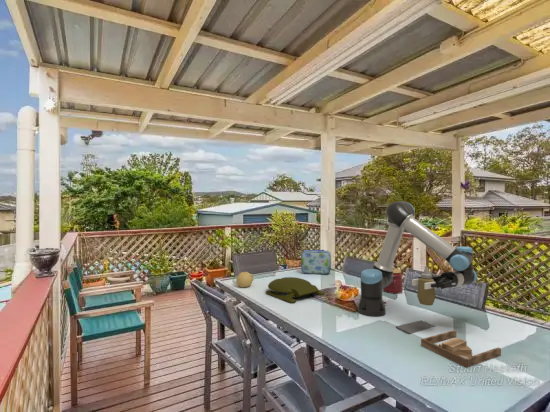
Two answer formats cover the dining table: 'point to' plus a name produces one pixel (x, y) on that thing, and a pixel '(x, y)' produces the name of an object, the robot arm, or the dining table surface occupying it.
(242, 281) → the tan round lump
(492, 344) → the dining table surface
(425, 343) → the walnut open frame
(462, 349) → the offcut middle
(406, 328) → the charcoal mat
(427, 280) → the squeeze bottle
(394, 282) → the canister
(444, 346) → the offcut top
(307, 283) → the green turtle
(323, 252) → the lunch box
